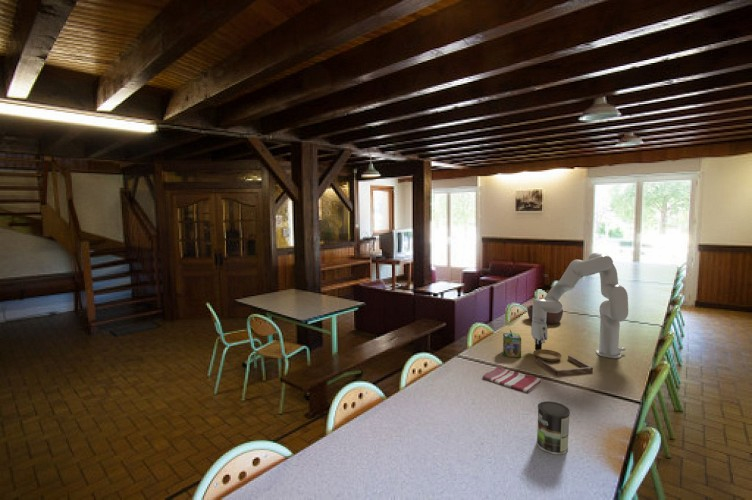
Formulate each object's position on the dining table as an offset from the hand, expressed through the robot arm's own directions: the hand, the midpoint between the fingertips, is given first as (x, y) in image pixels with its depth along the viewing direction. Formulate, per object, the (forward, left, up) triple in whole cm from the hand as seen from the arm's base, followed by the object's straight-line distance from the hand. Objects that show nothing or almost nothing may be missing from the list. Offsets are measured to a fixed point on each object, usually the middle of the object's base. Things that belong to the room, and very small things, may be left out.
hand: (538, 350), depth 228 cm
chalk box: (+17, 0, -2) cm, 17 cm away
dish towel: (+35, +32, -2) cm, 47 cm away
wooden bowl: (-43, -58, -2) cm, 72 cm away
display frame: (0, +22, -1) cm, 22 cm away
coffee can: (+49, +84, -2) cm, 97 cm away
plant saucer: (0, +9, -2) cm, 9 cm away
